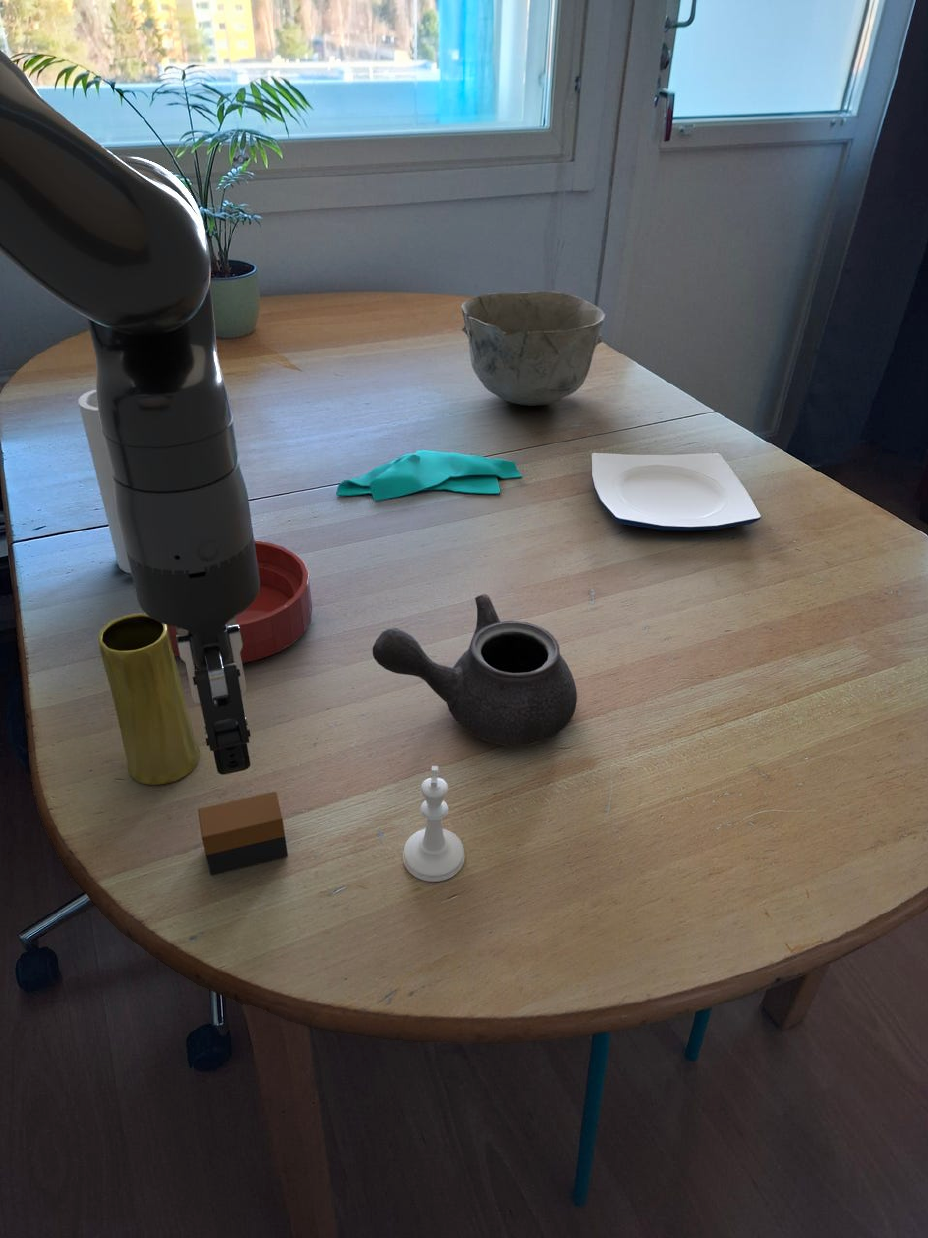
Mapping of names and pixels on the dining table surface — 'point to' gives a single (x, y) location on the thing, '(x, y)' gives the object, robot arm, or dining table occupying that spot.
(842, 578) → the dining table surface
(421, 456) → the cloth
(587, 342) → the bowl
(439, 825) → the chess piece
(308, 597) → the red bowl
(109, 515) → the vase
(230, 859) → the eraser
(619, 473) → the plate
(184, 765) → the vase
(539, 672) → the teapot
